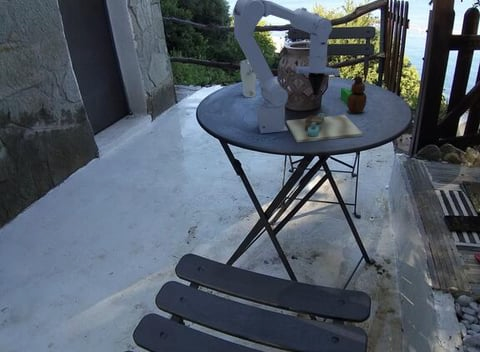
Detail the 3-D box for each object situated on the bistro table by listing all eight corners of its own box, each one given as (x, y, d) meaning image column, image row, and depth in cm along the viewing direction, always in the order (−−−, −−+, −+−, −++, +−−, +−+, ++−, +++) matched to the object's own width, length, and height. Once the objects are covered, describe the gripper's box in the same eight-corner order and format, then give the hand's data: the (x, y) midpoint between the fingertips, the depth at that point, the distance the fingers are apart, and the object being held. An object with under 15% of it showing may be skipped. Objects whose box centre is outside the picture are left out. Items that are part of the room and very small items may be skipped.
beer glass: (239, 97, 164) (237, 63, 156) (244, 92, 169) (242, 59, 162) (255, 98, 162) (253, 63, 154) (259, 93, 167) (257, 59, 160)
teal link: (317, 136, 121) (318, 125, 119) (306, 135, 122) (307, 124, 120) (326, 118, 133) (327, 108, 131) (316, 118, 135) (317, 107, 133)
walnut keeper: (320, 132, 125) (321, 121, 123) (304, 130, 127) (305, 119, 125) (323, 127, 128) (324, 116, 126) (308, 125, 130) (308, 115, 128)
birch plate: (297, 142, 121) (297, 139, 120) (286, 123, 136) (286, 120, 135) (362, 136, 122) (362, 133, 122) (344, 117, 137) (344, 115, 136)
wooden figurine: (351, 115, 138) (355, 75, 130) (343, 110, 143) (347, 71, 135) (367, 113, 139) (372, 73, 132) (359, 108, 144) (363, 69, 137)
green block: (358, 106, 146) (359, 95, 144) (348, 107, 146) (349, 96, 144) (349, 97, 156) (350, 86, 154) (340, 98, 156) (341, 87, 153)
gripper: (342, 53, 125) (338, 92, 132) (300, 51, 130) (299, 89, 137) (338, 58, 119) (334, 98, 126) (294, 56, 125) (293, 95, 132)
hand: (316, 94), depth 131 cm, fingers closed
